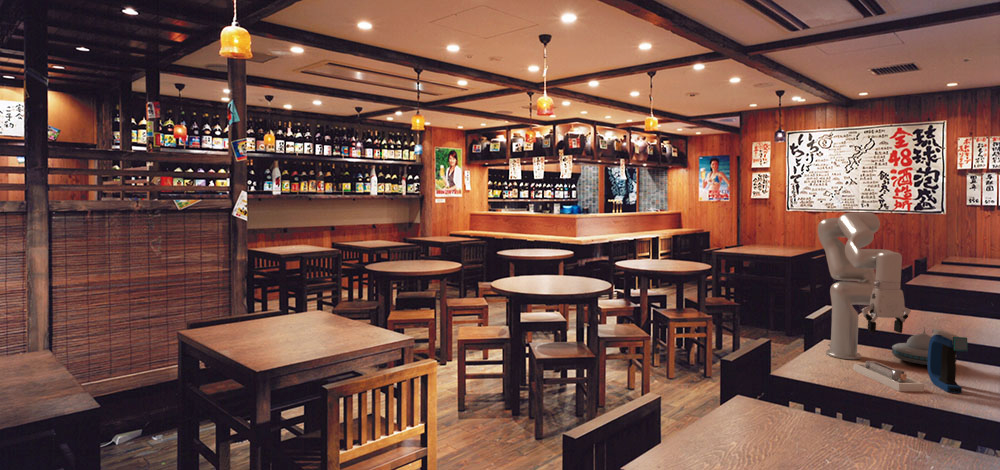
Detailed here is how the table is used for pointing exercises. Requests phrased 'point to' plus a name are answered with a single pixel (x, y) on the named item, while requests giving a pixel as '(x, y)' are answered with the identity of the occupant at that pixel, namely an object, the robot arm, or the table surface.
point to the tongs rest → (889, 380)
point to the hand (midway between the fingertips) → (884, 331)
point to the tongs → (886, 371)
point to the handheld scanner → (944, 359)
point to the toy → (914, 349)
